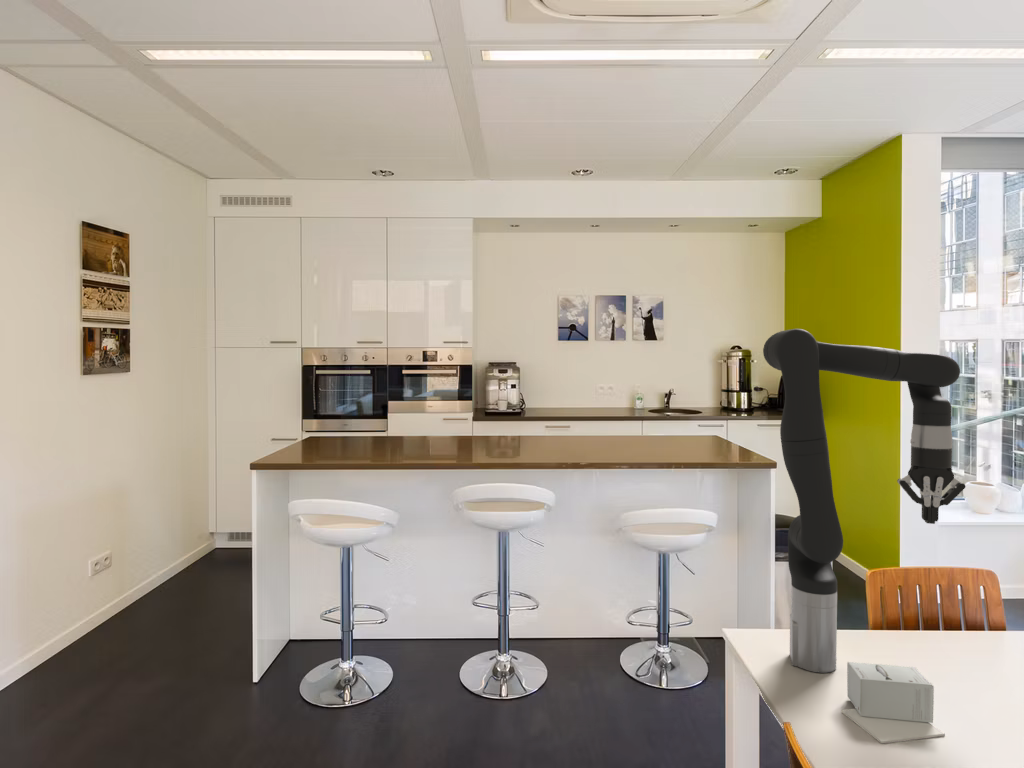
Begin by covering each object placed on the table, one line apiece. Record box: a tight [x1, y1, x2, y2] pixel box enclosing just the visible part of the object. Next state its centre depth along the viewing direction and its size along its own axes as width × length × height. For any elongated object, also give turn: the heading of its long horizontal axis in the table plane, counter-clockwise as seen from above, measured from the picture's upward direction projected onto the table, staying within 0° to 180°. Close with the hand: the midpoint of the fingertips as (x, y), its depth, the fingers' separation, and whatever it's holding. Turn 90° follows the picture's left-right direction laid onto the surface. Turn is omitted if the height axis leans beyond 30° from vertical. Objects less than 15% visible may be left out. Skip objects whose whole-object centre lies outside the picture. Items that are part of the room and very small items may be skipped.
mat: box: [841, 708, 946, 744], centre depth 114 cm, size 13×10×1 cm
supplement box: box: [846, 661, 935, 724], centre depth 118 cm, size 7×7×13 cm
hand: (929, 522), depth 136 cm, fingers closed
